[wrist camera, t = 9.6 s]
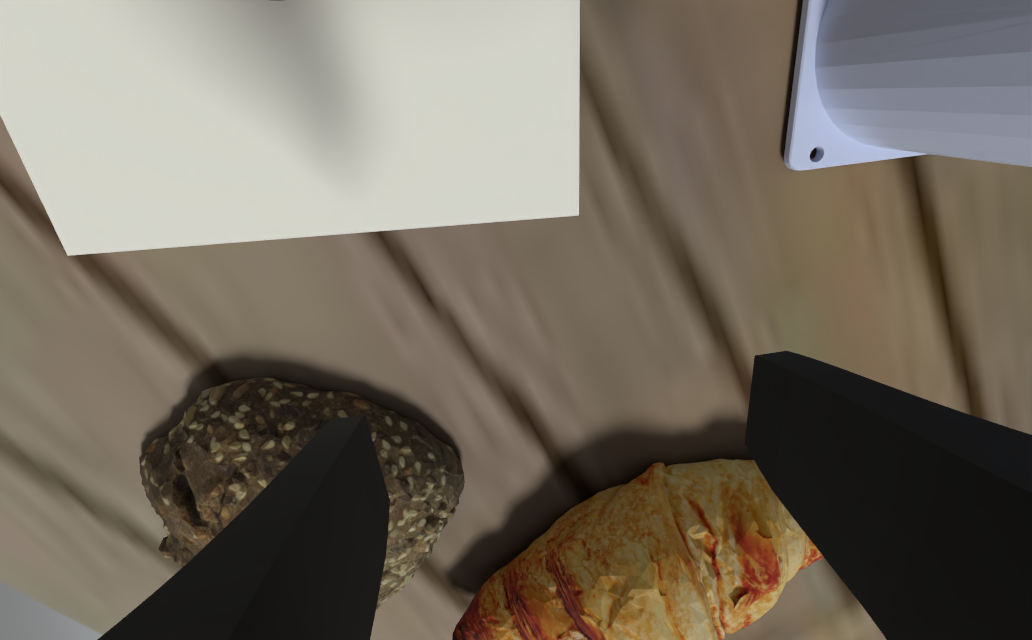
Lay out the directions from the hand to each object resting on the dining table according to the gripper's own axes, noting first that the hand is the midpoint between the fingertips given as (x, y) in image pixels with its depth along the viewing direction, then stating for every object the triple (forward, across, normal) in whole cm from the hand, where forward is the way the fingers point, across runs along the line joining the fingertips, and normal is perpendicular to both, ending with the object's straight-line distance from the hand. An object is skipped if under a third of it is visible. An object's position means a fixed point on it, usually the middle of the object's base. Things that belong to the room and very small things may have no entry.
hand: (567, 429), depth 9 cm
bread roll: (+11, +10, +10) cm, 18 cm away
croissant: (+11, -5, +16) cm, 20 cm away
